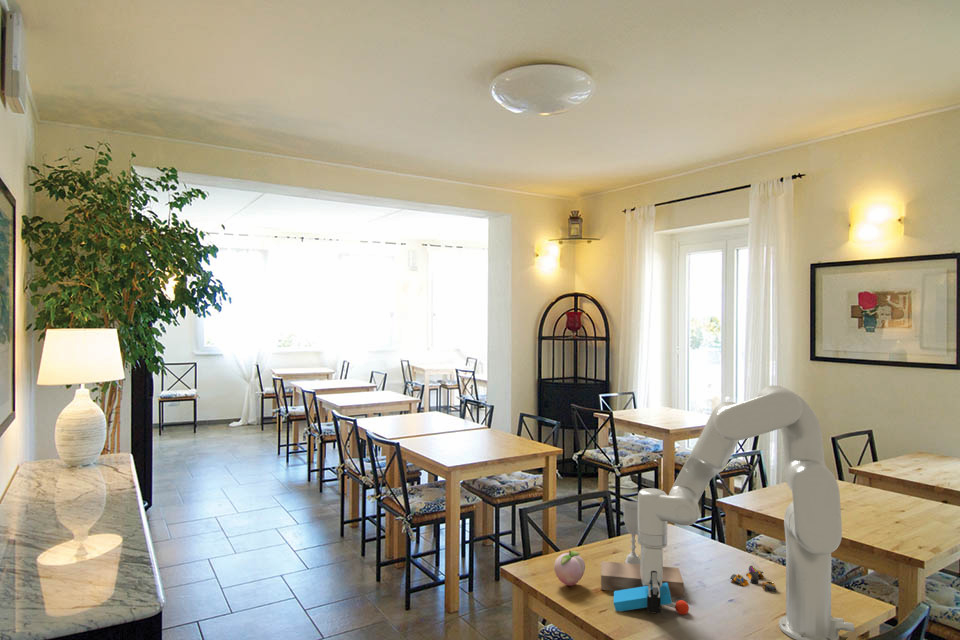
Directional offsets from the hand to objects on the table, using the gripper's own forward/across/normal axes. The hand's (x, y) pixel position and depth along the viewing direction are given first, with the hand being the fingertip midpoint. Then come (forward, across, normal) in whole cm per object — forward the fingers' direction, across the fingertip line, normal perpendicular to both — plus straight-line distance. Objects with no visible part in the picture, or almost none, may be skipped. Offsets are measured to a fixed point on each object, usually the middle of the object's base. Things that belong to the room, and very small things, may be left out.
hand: (651, 603), depth 150 cm
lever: (+2, 0, 0) cm, 2 cm away
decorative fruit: (+2, -9, -22) cm, 24 cm away
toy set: (+2, -22, +31) cm, 38 cm away
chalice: (+2, -30, -3) cm, 30 cm away
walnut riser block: (+1, -14, -2) cm, 14 cm away
